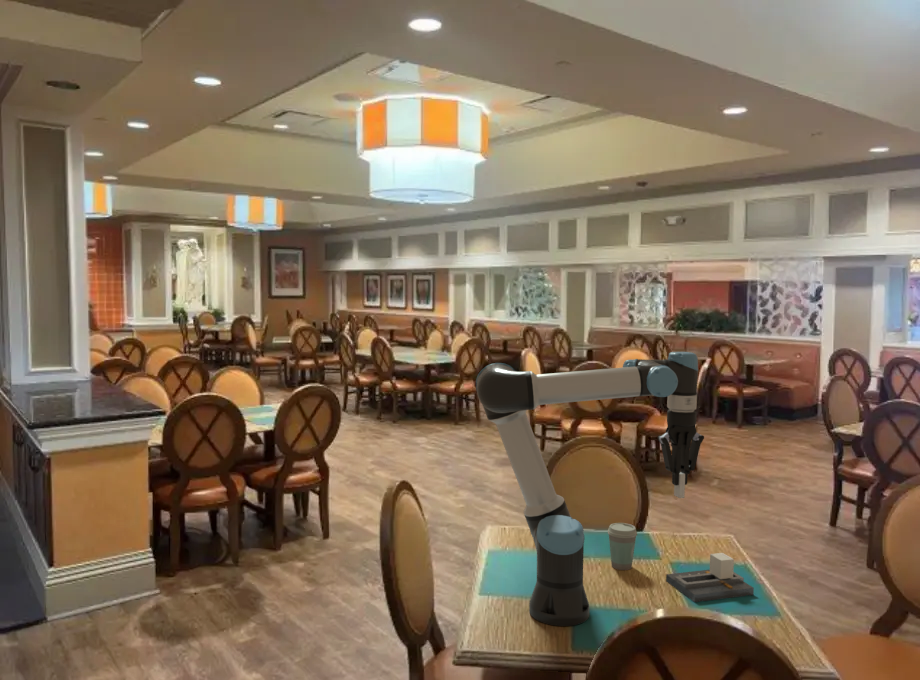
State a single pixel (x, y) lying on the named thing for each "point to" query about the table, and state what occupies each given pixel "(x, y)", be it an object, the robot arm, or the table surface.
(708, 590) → the console
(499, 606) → the table surface
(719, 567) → the fader tab
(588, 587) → the table surface
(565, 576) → the robot arm
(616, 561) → the coffee cup
